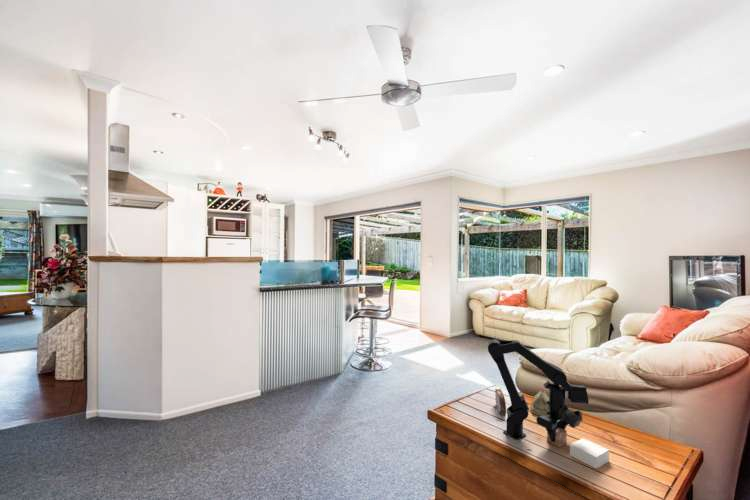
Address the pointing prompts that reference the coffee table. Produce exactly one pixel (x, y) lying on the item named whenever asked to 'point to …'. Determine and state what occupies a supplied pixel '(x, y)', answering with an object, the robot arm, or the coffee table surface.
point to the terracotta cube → (559, 437)
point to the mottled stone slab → (500, 401)
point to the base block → (589, 453)
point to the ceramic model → (540, 404)
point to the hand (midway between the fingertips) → (556, 439)
